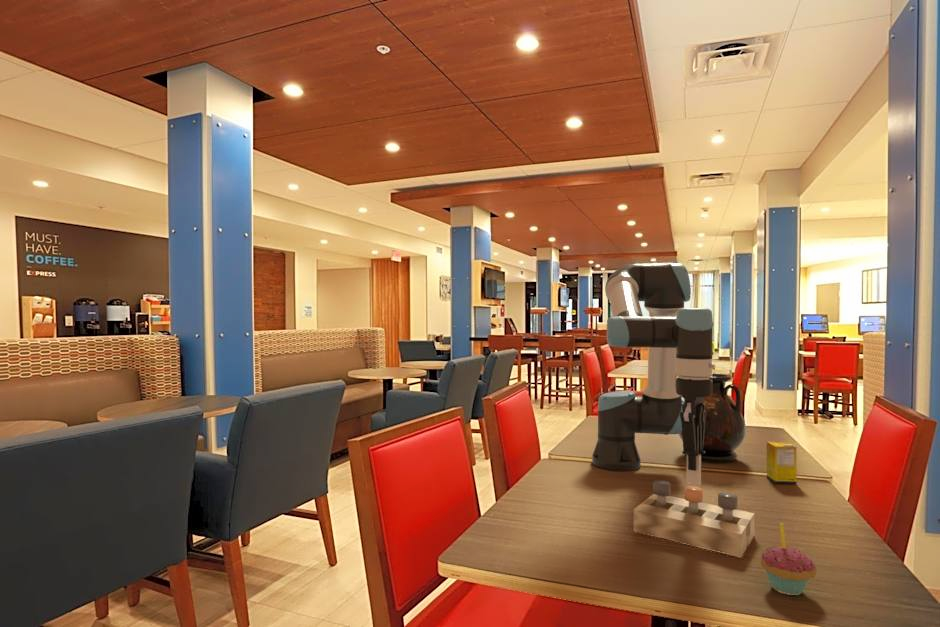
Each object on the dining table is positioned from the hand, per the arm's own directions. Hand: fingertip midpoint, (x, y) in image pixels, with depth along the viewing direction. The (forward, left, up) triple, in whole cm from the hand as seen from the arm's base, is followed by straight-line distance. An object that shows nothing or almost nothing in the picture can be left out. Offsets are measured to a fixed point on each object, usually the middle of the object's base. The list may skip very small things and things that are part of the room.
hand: (693, 483), depth 120 cm
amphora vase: (-13, +70, -12) cm, 72 cm away
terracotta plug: (0, 0, -6) cm, 6 cm away
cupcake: (+20, -15, -12) cm, 27 cm away
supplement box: (+10, +55, -12) cm, 57 cm away
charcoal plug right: (+7, 0, -6) cm, 9 cm away
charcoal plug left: (-7, 0, -6) cm, 9 cm away
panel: (0, 0, -11) cm, 11 cm away
